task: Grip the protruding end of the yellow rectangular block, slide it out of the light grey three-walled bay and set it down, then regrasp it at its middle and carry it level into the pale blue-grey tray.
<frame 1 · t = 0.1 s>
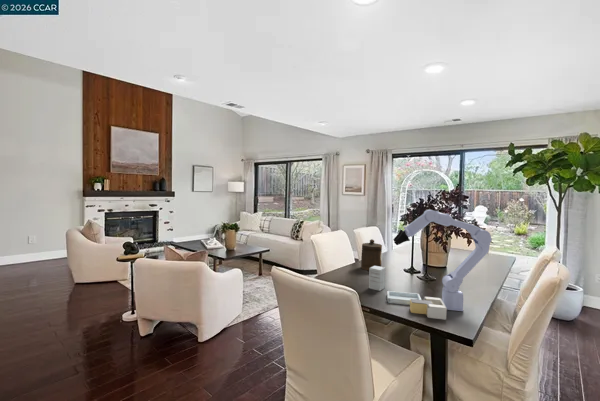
hand: (394, 242, 159), 32 cm above the table, tool tilted 50°, fingers open, 7 cm apart
bay: (434, 313, 147), on the table
yellow rectangular block: (421, 312, 148), on the table
wooden container: (371, 268, 227), on the table
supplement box: (376, 288, 182), on the table
tray: (403, 300, 163), on the table
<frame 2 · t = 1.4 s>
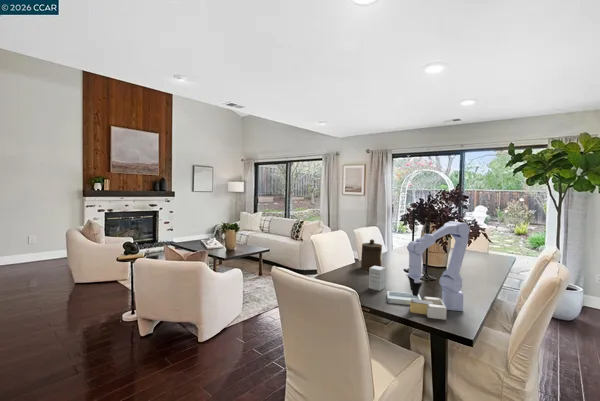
hand: (414, 293, 149), 9 cm above the table, tool pointing down, fingers open, 7 cm apart
nothing on the table moved.
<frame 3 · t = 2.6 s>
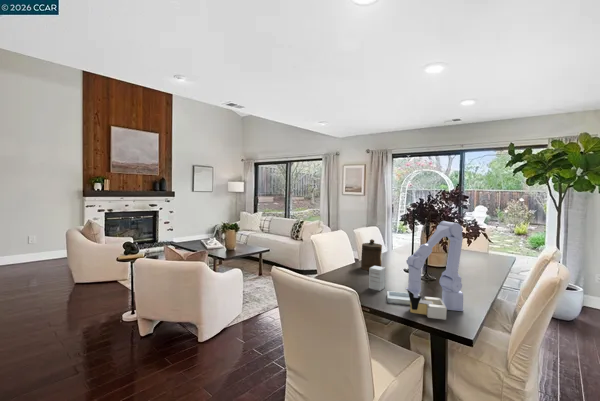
hand: (413, 307, 149), 2 cm above the table, tool pointing down, fingers closed on yellow rectangular block, 5 cm apart
yellow rectangular block: (421, 312, 148), on the table, touching gripper
everything else where it was.
when the fingers open (2 cm above the table, at t = 7.6 s): yellow rectangular block stays where it is, on the table.
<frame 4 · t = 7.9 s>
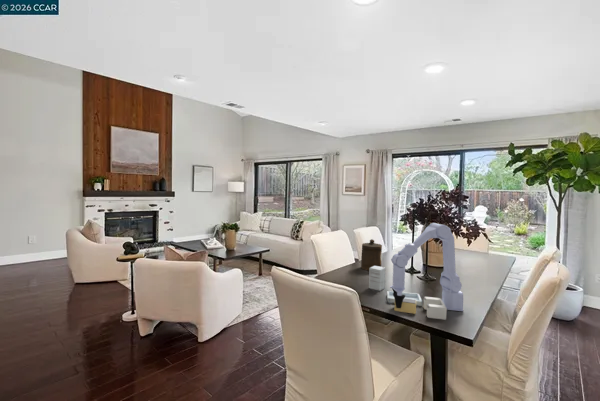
hand: (397, 304, 151), 2 cm above the table, tool pointing down, fingers open, 7 cm apart
yellow rectangular block: (405, 310, 150), on the table
everything else where it was.
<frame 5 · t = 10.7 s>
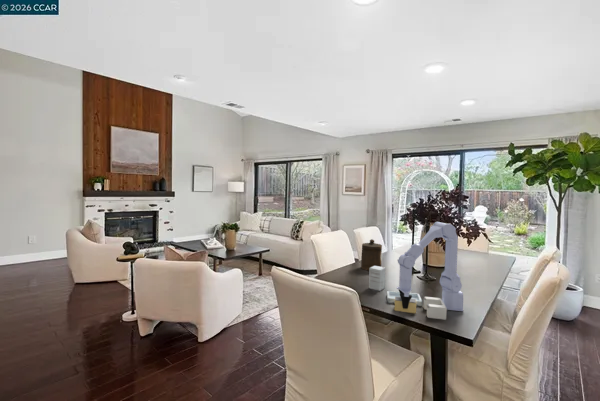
hand: (404, 306, 150), 2 cm above the table, tool pointing down, fingers closed on yellow rectangular block, 5 cm apart
yellow rectangular block: (405, 309, 150), on the table, touching gripper
everything else where it was.
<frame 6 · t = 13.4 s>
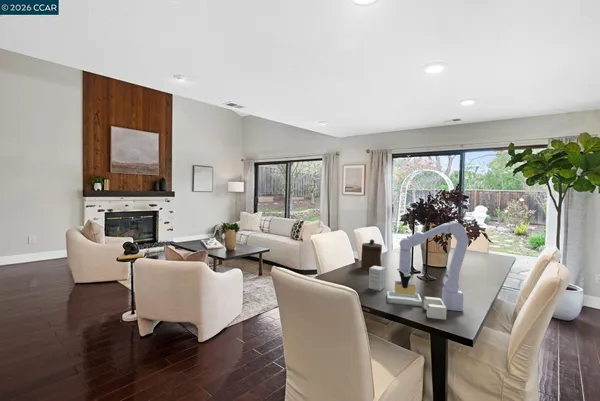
hand: (404, 286, 161), 8 cm above the table, tool pointing down, fingers closed on yellow rectangular block, 5 cm apart
yellow rectangular block: (404, 292, 161), point 5 cm above the table, touching gripper
everything else where it was.
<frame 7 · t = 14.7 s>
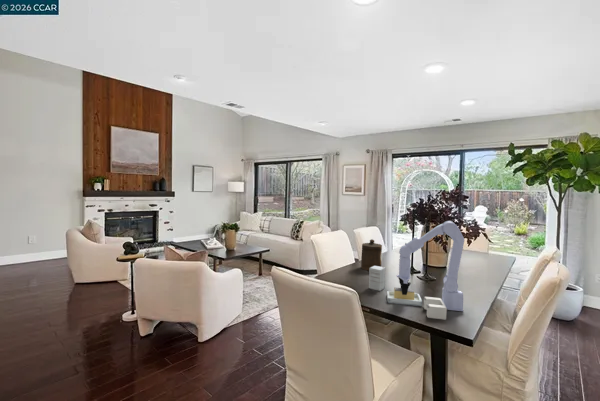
hand: (403, 292, 163), 4 cm above the table, tool pointing down, fingers closed on yellow rectangular block, 5 cm apart
yellow rectangular block: (403, 299, 163), point 1 cm above the table, touching gripper, tray
everything else where it was.
when the fingers open (4 cm above the table, at t = 15.3 s): yellow rectangular block stays where it is, resting on tray.
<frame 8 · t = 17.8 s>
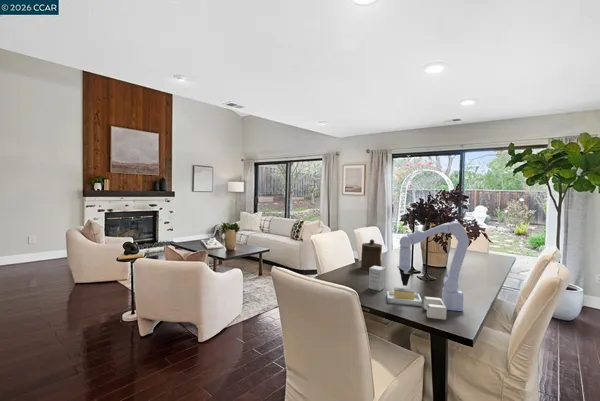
hand: (404, 283, 163), 9 cm above the table, tool pointing down, fingers open, 7 cm apart
yellow rectangular block: (403, 299, 163), point 1 cm above the table, touching tray
everything else where it was.
at the end: yellow rectangular block 0.0 cm off-centre on the tray, point 0.6 cm above the tray's base; yellow rectangular block tilted 0°; the gripper is holding nothing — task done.
